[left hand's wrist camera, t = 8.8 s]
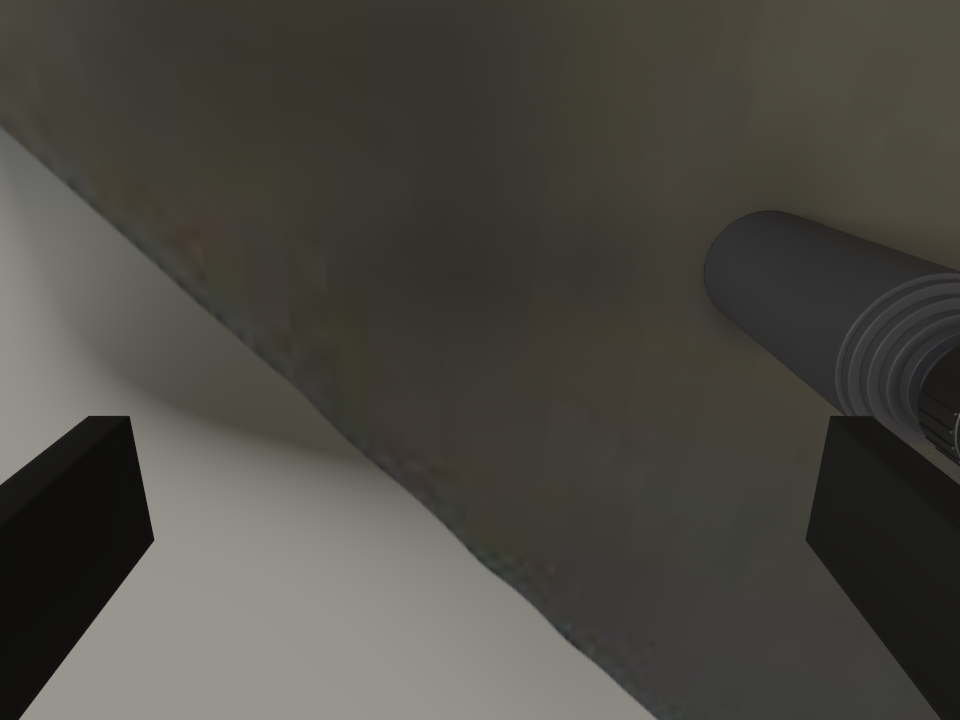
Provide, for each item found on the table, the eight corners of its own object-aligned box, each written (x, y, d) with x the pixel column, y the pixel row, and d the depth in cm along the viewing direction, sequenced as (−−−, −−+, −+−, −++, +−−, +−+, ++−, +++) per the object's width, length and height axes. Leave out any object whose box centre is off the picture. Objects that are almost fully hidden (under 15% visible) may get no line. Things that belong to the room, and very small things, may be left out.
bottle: (689, 311, 41) (879, 494, 21) (725, 199, 38) (976, 291, 19) (794, 332, 41) (1075, 531, 22) (837, 223, 39) (1193, 337, 20)
